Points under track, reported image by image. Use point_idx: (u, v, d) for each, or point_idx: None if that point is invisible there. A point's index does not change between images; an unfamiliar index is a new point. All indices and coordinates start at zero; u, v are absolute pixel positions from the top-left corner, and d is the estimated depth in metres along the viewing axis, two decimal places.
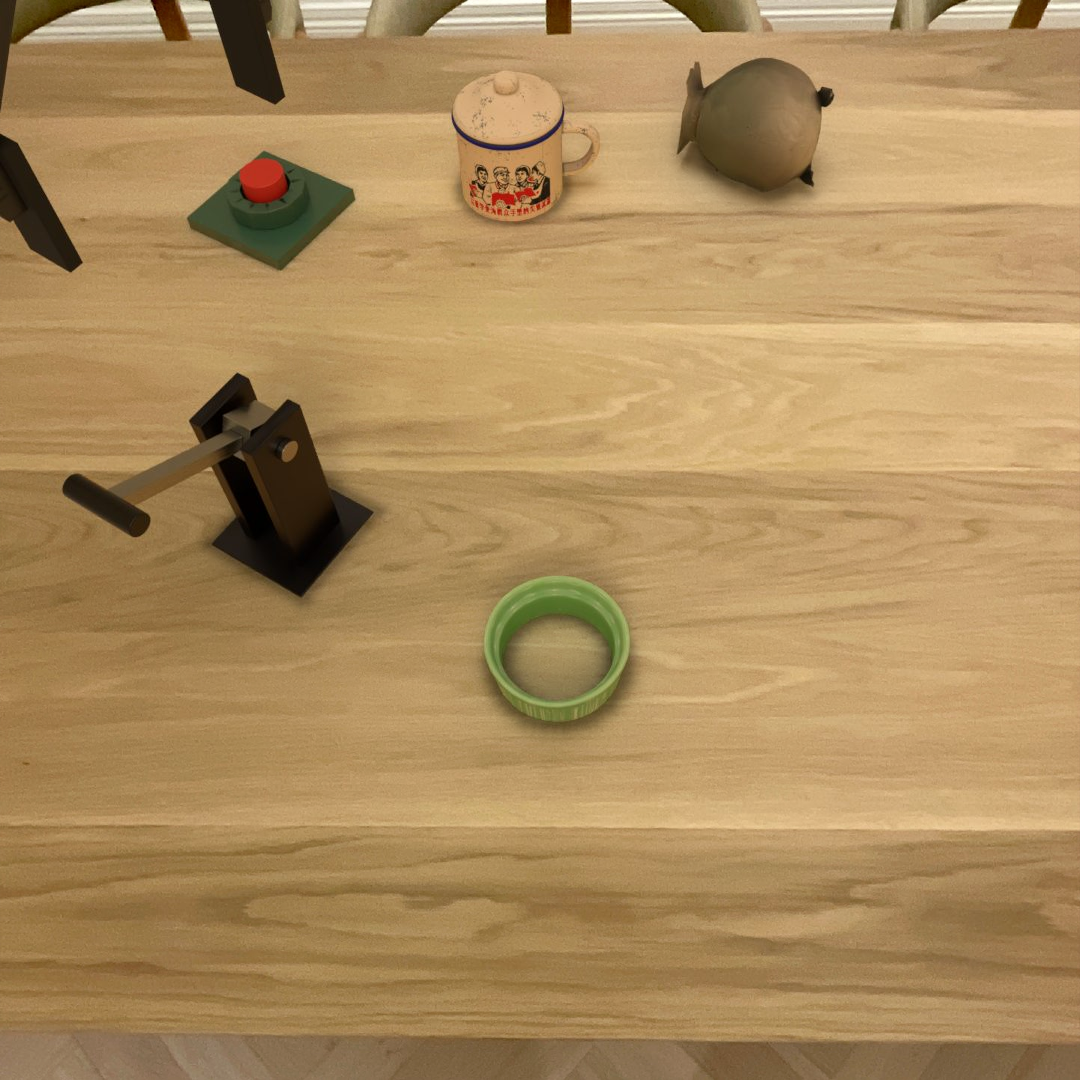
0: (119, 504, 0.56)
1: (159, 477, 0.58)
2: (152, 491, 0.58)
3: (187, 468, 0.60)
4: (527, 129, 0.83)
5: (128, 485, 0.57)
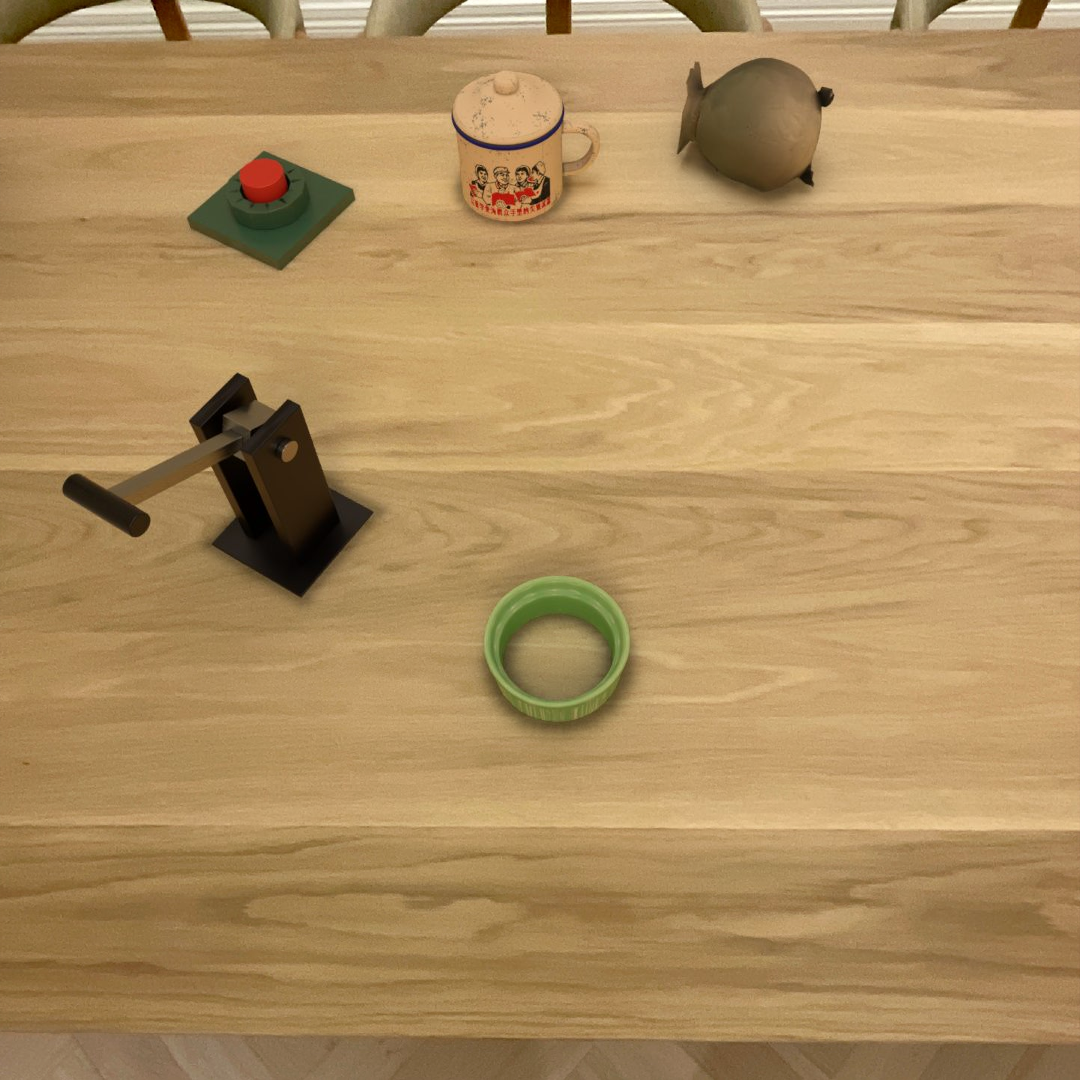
0: (119, 504, 0.56)
1: (159, 477, 0.58)
2: (152, 491, 0.58)
3: (187, 468, 0.60)
4: (527, 129, 0.83)
5: (128, 485, 0.57)
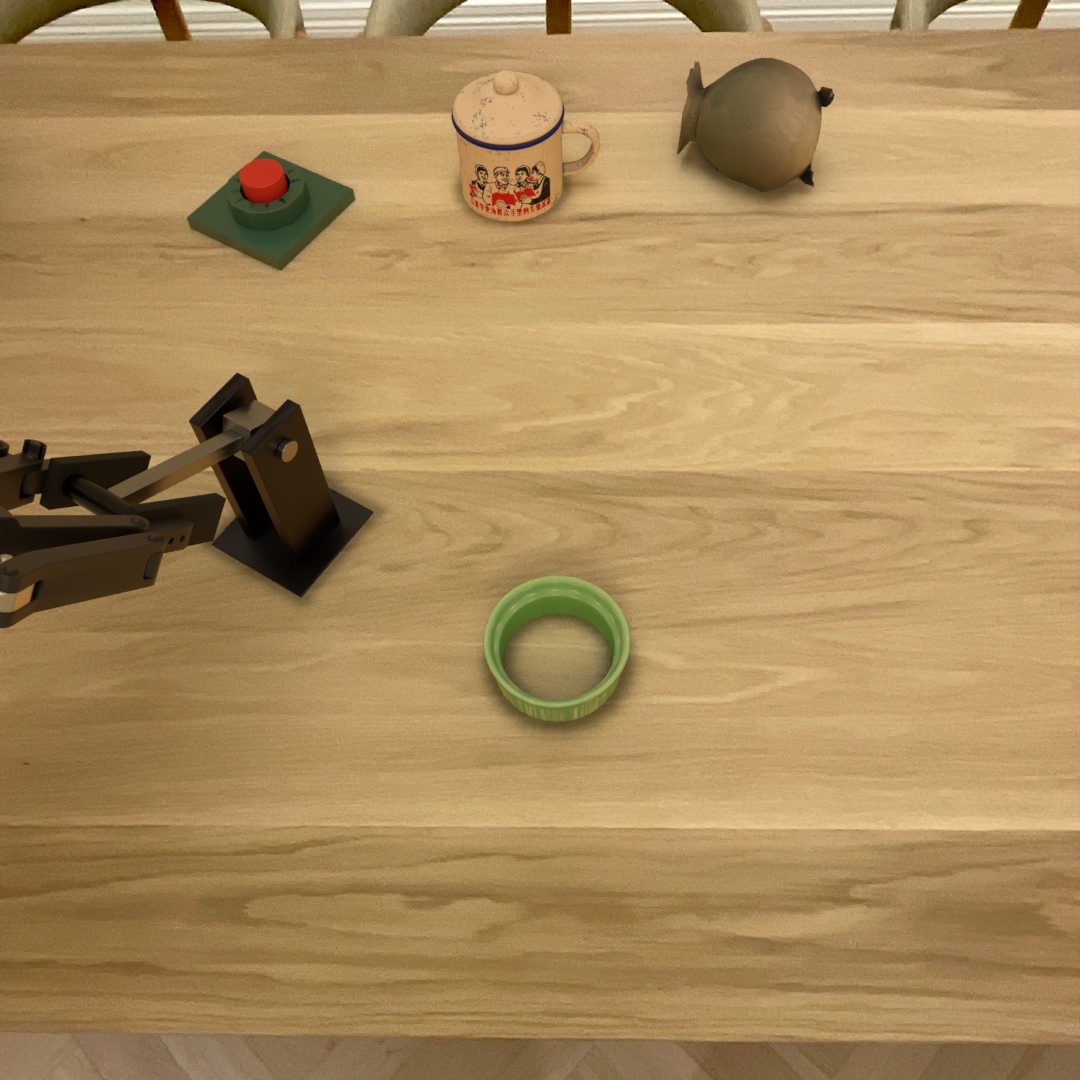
0: (119, 504, 0.56)
1: (159, 477, 0.58)
2: (152, 491, 0.58)
3: (187, 468, 0.60)
4: (527, 129, 0.83)
5: (128, 485, 0.57)
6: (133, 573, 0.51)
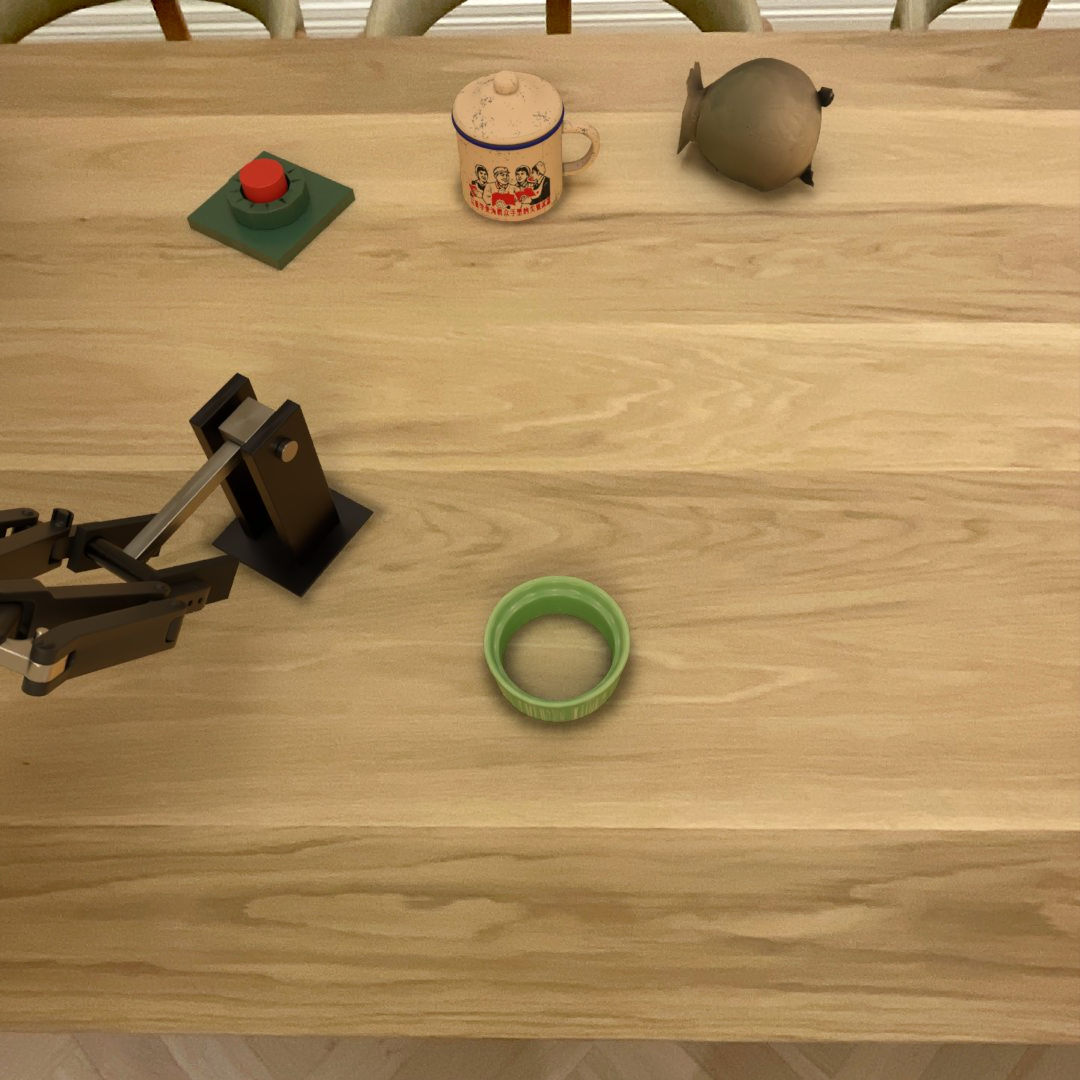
0: (134, 570, 0.59)
1: (167, 523, 0.61)
2: (165, 537, 0.61)
3: (193, 501, 0.62)
4: (527, 129, 0.83)
5: (141, 540, 0.60)
6: (156, 638, 0.55)
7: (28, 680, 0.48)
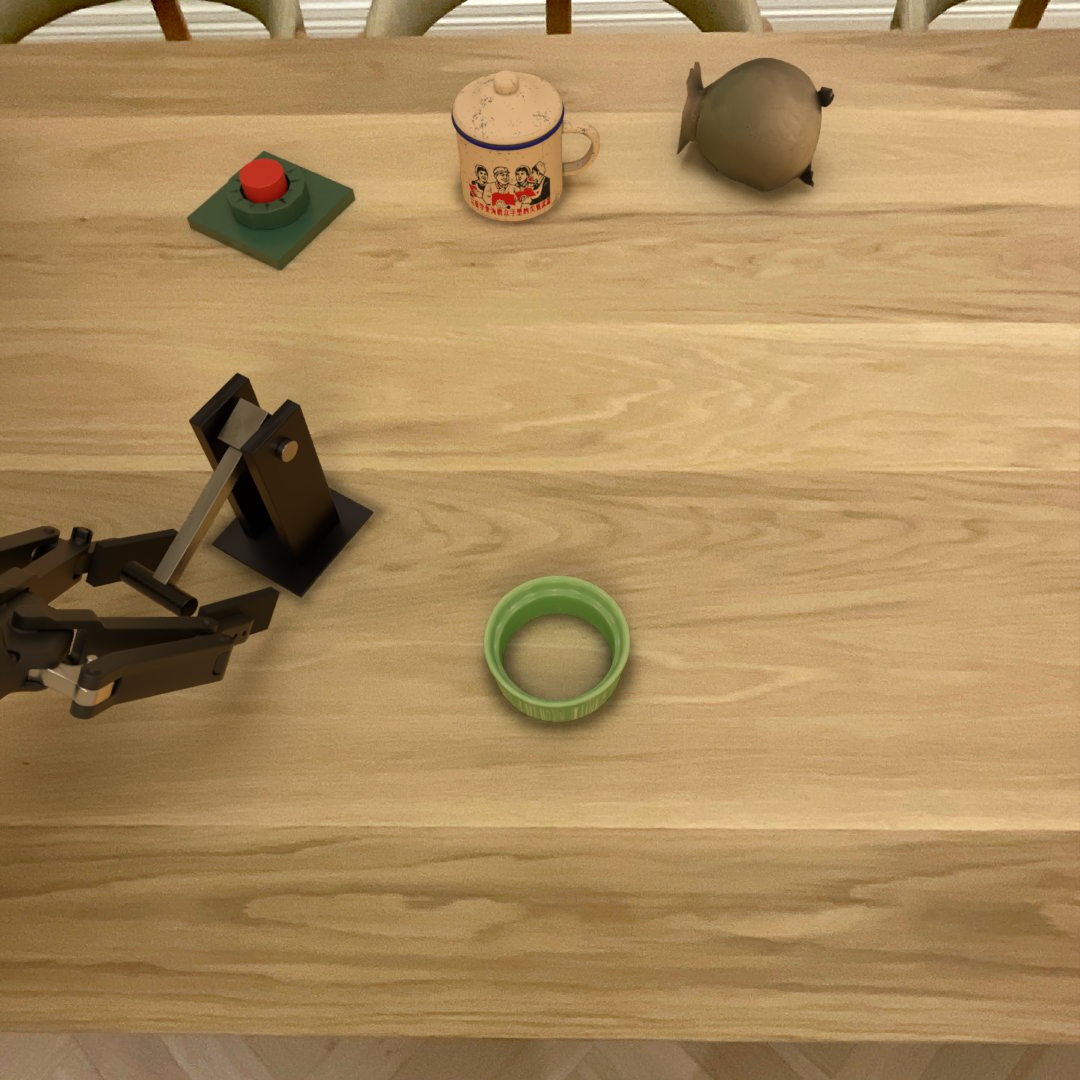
0: (165, 597, 0.63)
1: (187, 544, 0.63)
2: (188, 555, 0.64)
3: (208, 517, 0.64)
4: (527, 129, 0.83)
5: (167, 564, 0.64)
6: (203, 670, 0.58)
7: (75, 703, 0.52)
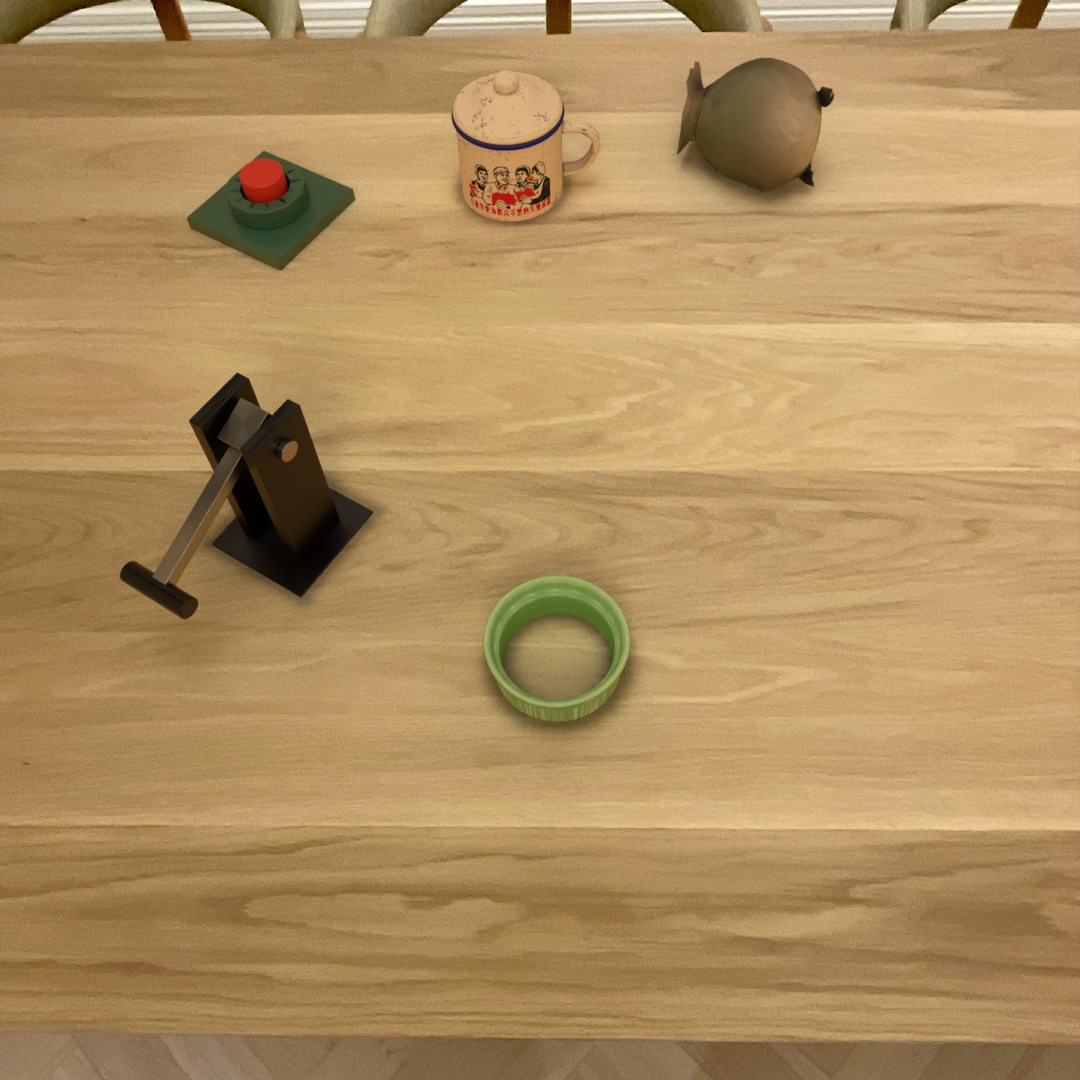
0: (165, 597, 0.63)
1: (187, 544, 0.63)
2: (188, 555, 0.64)
3: (208, 517, 0.64)
4: (527, 129, 0.83)
5: (167, 564, 0.64)
6: None
7: None
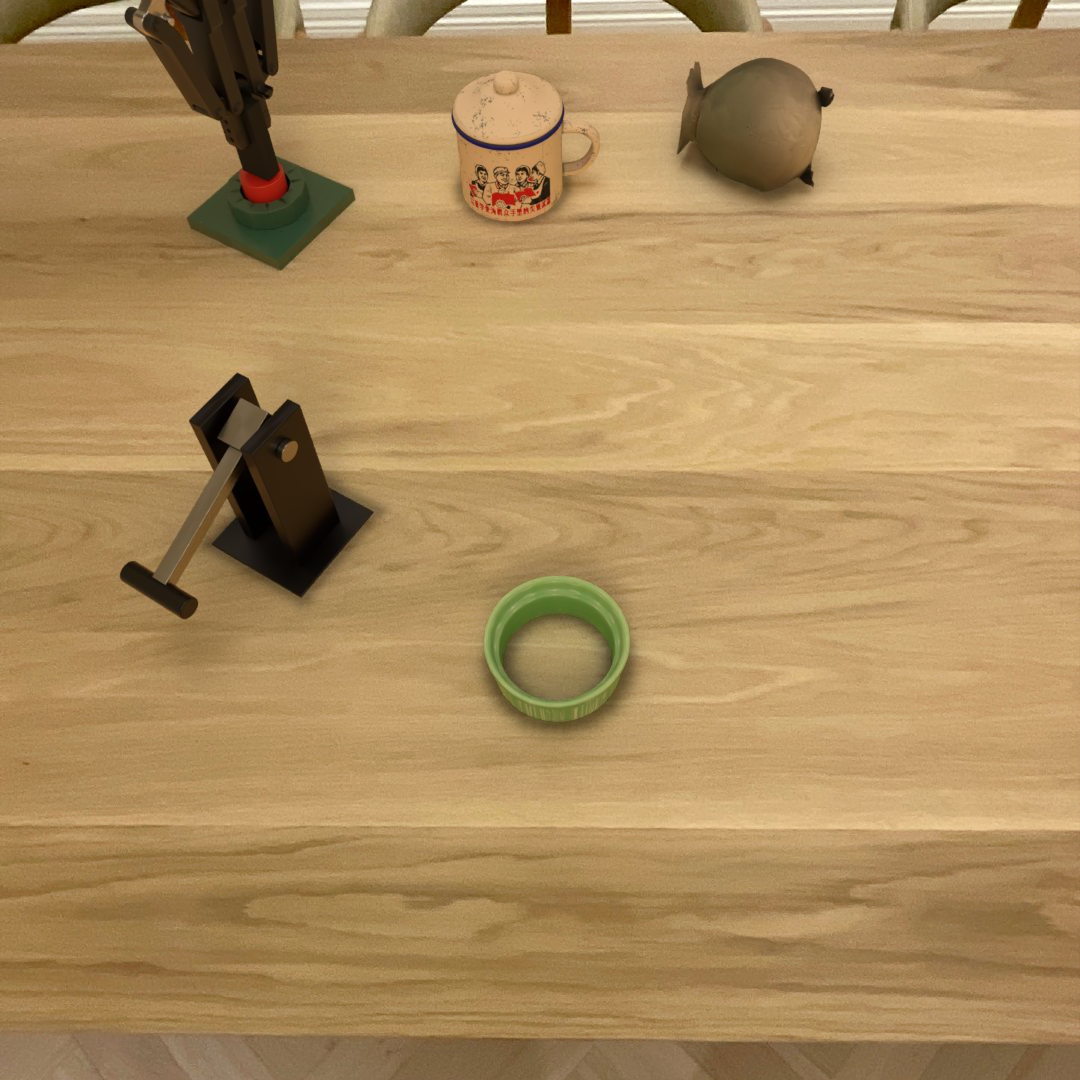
0: (165, 597, 0.63)
1: (187, 544, 0.63)
2: (188, 555, 0.64)
3: (208, 517, 0.64)
4: (527, 129, 0.83)
5: (167, 564, 0.64)
6: None
7: None
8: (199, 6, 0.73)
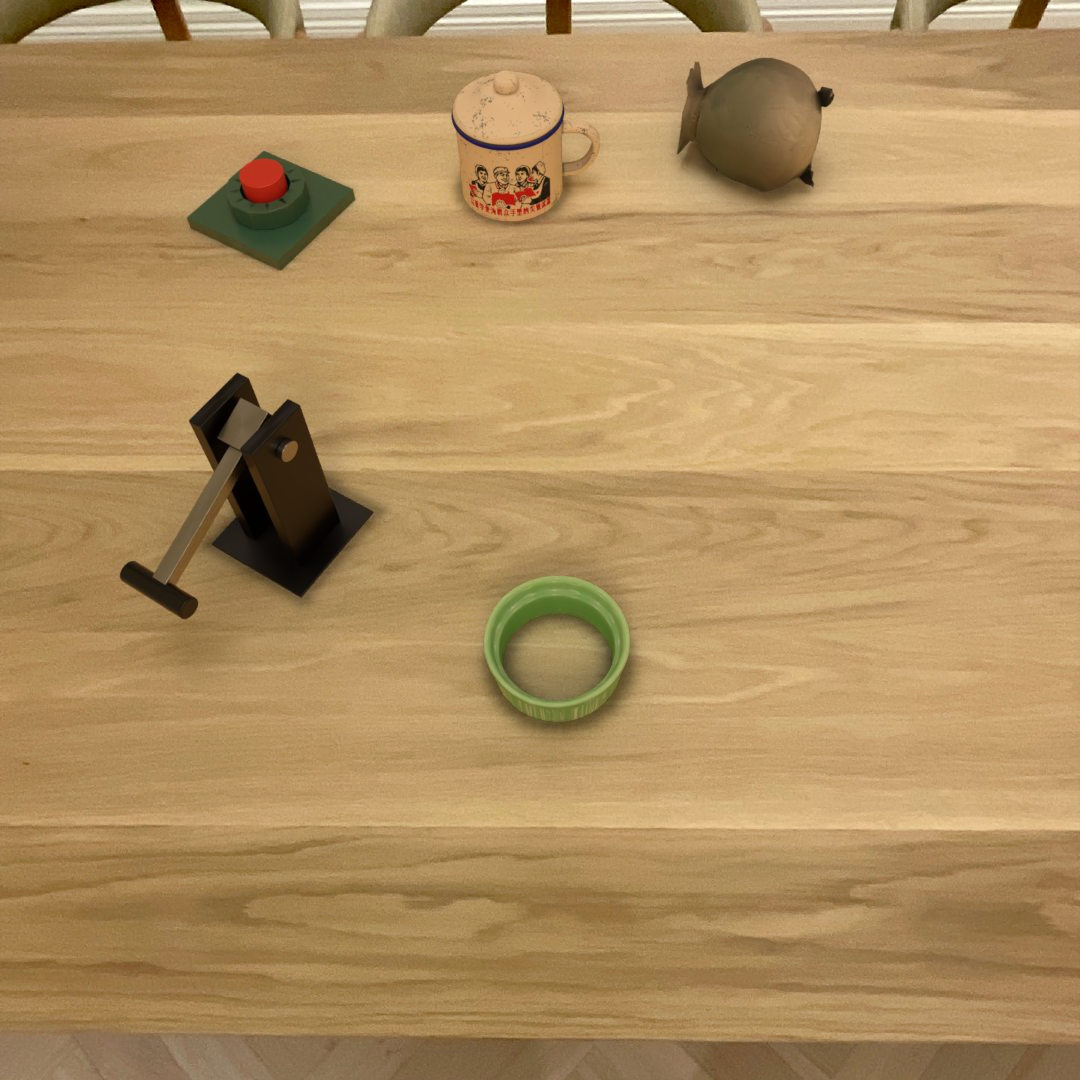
0: (165, 597, 0.63)
1: (187, 544, 0.63)
2: (188, 555, 0.64)
3: (208, 517, 0.64)
4: (527, 129, 0.83)
5: (167, 564, 0.64)
6: None
7: None
8: None
